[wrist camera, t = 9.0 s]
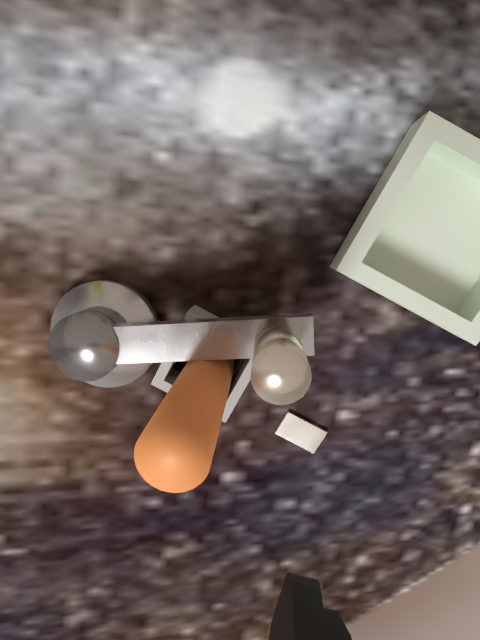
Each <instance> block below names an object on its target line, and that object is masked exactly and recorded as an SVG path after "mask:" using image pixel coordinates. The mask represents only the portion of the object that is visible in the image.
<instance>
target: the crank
mask: <svg viewBox="0 0 480 640" xmlns="http://www.w3.org/2000/svg"><path fill="white" fill-rule="evenodd" d="M49 351H50V355H51V357H52V360H53V362H54V363H55V365H56V366H57V367H58V369H59V370H60V371H61V372H63V373H64V374H65V375H67V376H68V377H70V378H72V379H75V380H78V381H84V382H89V381H95V380H98V379H101V378H103V377H104V376H106V375H107V374H108V373H109V372H110V371H112V370H113V369H114V368H115V367H116V366H117V365H119V364H136V363H158V362H180V361H201V360H225V359H247V358H253V359H252V368H251V383H252V386H253V388H254V390H255V392H256V393H257V394H258V395H259V396H260V397H261V398H262V399H263V400H265V401H267V402H269V403H271V404H276V405H287V404H291V403H294V402H296V401H298V400H299V399H301V398H302V397H303V396H304V395H305V394H306V392H307V391H308V389H309V387H310V384H311V377H312V375H311V369H310V366H309V363H308V360H307V357H306V356H313V355H314V329H313V315H312V314H311V313H300V314H281V315H263V316H244V317H226V318H207V319H189V320H170V321H152V322H134V323H127V321H126V320H125V318H124V317H123V316H122V315H121V314H119V313H118V312H117V311H115V310H113V309H111V308H108V307H103V306H94V307H90V308H87V309H84V310H82V311H79V312H77V313H74V314H72V315H69V316H67V317H64V318H63V319H61V320H60V321H59V322H58V323H57V324H56V325H55V326H54V328H53V329H52V331H51V334H50V337H49Z"/></svg>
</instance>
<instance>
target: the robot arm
mask: <svg viewBox="0 0 480 640" xmlns="http://www.w3.org/2000/svg"><path fill="white" fill-rule="evenodd" d="M269 640H352V639H351V635H350V633H349V632H348V630H347V628H346V626H345V624H344V622H343V620H342V619H341V617H340V615H339V613H338V611H334V610H330V609H326V608H323V602H322V596H321V589H320V584H319V581H318V580H316V579H312V578H308V577H304V576H300V575H296V574H293V573H287V575H286V577H285V580H284V584H283V587H282V590H281V593H280V597H279V600H278V603H277V606H276V609H275V613H274V616H273V619H272V623H271V629H270V635H269Z"/></svg>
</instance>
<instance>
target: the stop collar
mask: <svg viewBox="0 0 480 640" xmlns="http://www.w3.org/2000/svg"><path fill="white" fill-rule="evenodd" d="M207 318H219V317H217V316H215V315H214V314H212V313H210V312H208V311H206V310H204V309H202V308H200V307H198V306H197V305H194V306H193V307H192V308H190V309H189V310H188V311H187V313H186V315H185V317H184V319H183V320H189V319H207ZM252 359H253V358H247V359H245V361H244V363H243V365H242V367H241V368H240V370H239V372H238V374H237V376H236V377H235V379H234V381H233V383H232V384H231V386H230V389H229V393H228V397H227V401H226V405H225V409H224V413H223V417H222V421H223V422H225V423H226V421H227V419H228V418H229V416H230V414H231V412H232V411H233V409H234V407H235V405H236V404H237V402H238V400H239V398H240V397H241V395H242V393H243V391H244V390H245V388H246V386H247V384H248V383H249V381H250V379H251V368H252ZM175 363H176V362H162V363H161V365H160V367H159V369H158V371H157V373H156V375H155V377H154V379H153V381H152V383H151V385H153V386H155V387H157V388H159V389H161V390H163V391H165V392H167V393H168V392H169V390H170V388H171V387H172V385H173V384H174V382H175V381H176V379H177V377H178V376H179V374H180V373H181V372H179V371H177V370H175V369H173V366H174V365H175Z"/></svg>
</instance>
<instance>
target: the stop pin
mask: <svg viewBox="0 0 480 640" xmlns="http://www.w3.org/2000/svg"><path fill="white" fill-rule="evenodd" d="M234 368H235V363H234V359H225V360H201V361H188V362H187V363H186V365H185V366H184V368H183V370H182V371H181V373H180V374H179V376H178V377H177V379H176V381H175V382H174V384H173V385H172V387H171V388H170V390H169V392H168V393H167V395H166V396H165V398H164V399H163V401H162V402H161V404H160V406H159V407H158V409H157V410H156V412H155V413H154V415H153V417H152V418H151V420H150V421H149V423H148V424H147V426H146V428H145V429H144V431H143V432H142V434H141V435H140V437H139V439H138V440H137V442H136V445H135V449H134V460H135V465H136V468H137V470H138V472H139V473H140V475H141V476H142V477H143V479H144V480H145V481H146V482H148V483H149V484H150V485H152V486H153V487H155V488H157V489H159V490H162V491H165V492H171V493H180V492H186V491H189V490H191V489H194V488H195V487H197V486H198V485H200V484H201V483H202V482H203V481H204V479H205V478H206V477H207V475H208V473H209V470H210V466H211V462H212V458H213V454H214V450H215V446H216V442H217V438H218V434H219V430H220V426H221V422H222V417H223V413H224V409H225V405H226V401H227V397H228V393H229V389H230V385H231V381H232V377H233V373H234Z"/></svg>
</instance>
